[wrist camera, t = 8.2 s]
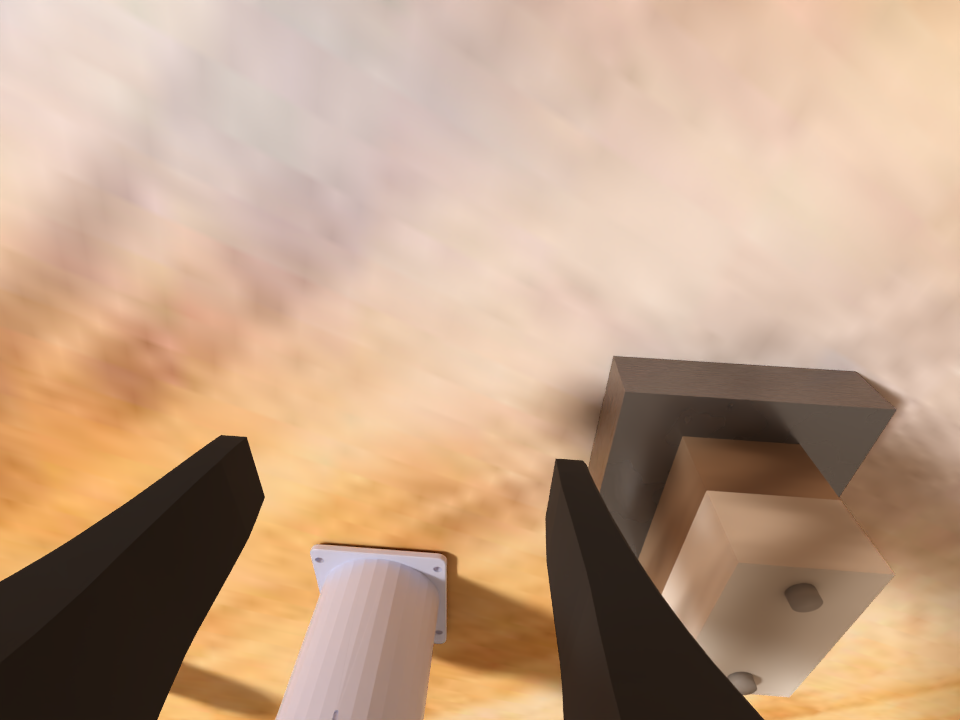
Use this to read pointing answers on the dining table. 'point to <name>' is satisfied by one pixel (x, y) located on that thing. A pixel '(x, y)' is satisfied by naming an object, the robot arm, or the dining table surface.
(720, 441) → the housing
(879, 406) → the stand
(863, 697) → the dining table surface
